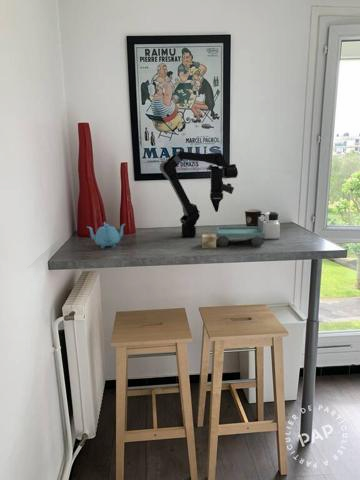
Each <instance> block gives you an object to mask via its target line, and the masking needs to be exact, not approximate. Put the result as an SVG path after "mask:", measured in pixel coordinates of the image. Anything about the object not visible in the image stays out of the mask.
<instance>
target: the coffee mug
mask: <svg viewBox="0 0 360 480" xmlns="http://www.w3.org/2000/svg"><path fill="white" fill-rule="evenodd" d="M244 216H245V225H246V226H245V227H258V217H261V218H262V216H264V217H265V213H262V210H261V209H257V208H250V209H249V208H248V209H245V210H244ZM263 221H265V218H264V220H263Z"/></svg>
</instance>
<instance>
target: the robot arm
mask: <svg viewBox="0 0 360 480" xmlns="http://www.w3.org/2000/svg"><path fill="white" fill-rule="evenodd" d="M185 160H186V161H195V162H196V161H197V162H204V163H207V164H209V165H208V167H206V170H207V171H210V194H209V198H210V199H209V200H210V201H211V203H212V206H213V209H214V211H215V213H217V212H218V211H219V207H220V203H221V201H222V200H223V199H224V193H223V192H226V193H228V194H229V195H232V194H233V192H234V189H235V187H234V186H232V184H231V183H229V182H228V183H227V184H226V183H224V181H223V178H224V179H237V177H238V175H239V171H238V168H237V166H236V165H237V164H235V163H231V164H228V163H227V161H226V159H225V157H224V155H223V153H221V152H211V153H210V152H209V153H200V152H199V153H197V152H188V151H184V150H178V151H176V152H175V153H174V154H173V155H172V156H170V157H169V158H168V159H167V160H165V161H162V162H161V163H160V164H159V170H160V172H161V173H162V174H163V176H164V177H165V179H167V180H168V181H169V184H170V185H171V188H172V189H173V190H174V193H175V195H176V197H177V198H178V201H179V202H180V205H181V206H182V213H183V215H182V216H181V217H180V219H179V221H180V223H181V238H195V237H197V227H196V224H197V222H198V221H199V219H200V216H201V215H200V213H201V211H199V209H198V207H197V205H196V204H195V203H191V201H190V199H189V197H188V195H187V193H186V191H185V190H184V187H183V185H182V183H181V182H180V180H179V177H178V172H177V167H178V166H179V165H180V164H181V162H182V161H185Z"/></svg>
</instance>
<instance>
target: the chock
mask: <svg viewBox="0 0 360 480" xmlns="http://www.w3.org/2000/svg"><path fill="white" fill-rule="evenodd" d="M201 236H202V237H201V238H202V241H201V242H202V244H201V247H202V249H211V248H212V249H217V233H216V234H215V233H212V234H211V233H210V234H207V233H206V234H205V233H203V234H202V235H201Z"/></svg>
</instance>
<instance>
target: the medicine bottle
mask: <svg viewBox="0 0 360 480" xmlns="http://www.w3.org/2000/svg"><path fill="white" fill-rule="evenodd" d="M264 215H265V216H264V219H265V221H264V220H263V233H264V238H263V240H264V239H268V240H269V239H270V240H273V239H274V240H276V239H280V234H281V233H280V230H281V224H280V222H279V213H278V212H276V211H269V212H268V211H267V212H266V213H264Z"/></svg>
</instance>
